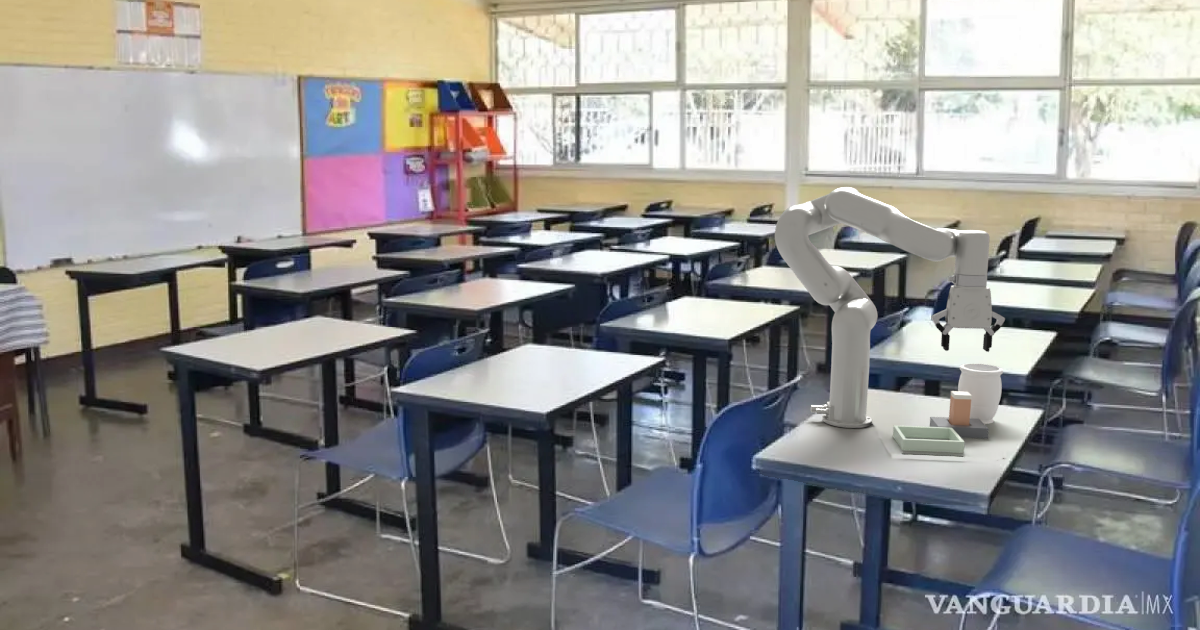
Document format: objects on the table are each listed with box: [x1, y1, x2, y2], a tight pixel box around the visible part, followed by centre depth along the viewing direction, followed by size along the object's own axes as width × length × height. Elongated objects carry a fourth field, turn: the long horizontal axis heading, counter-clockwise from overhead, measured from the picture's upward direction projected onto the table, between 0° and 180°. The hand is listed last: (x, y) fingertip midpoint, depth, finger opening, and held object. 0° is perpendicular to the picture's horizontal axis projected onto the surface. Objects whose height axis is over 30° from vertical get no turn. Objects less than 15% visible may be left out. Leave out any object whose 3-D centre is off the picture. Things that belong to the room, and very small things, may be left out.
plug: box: [948, 390, 972, 426], centre depth 257 cm, size 4×4×10 cm
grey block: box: [929, 416, 990, 439], centre depth 258 cm, size 12×9×4 cm
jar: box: [957, 363, 1004, 425], centre depth 269 cm, size 11×10×15 cm
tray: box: [892, 425, 965, 458], centre depth 247 cm, size 14×12×4 cm
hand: (965, 350), depth 254 cm, fingers open, 9 cm apart
